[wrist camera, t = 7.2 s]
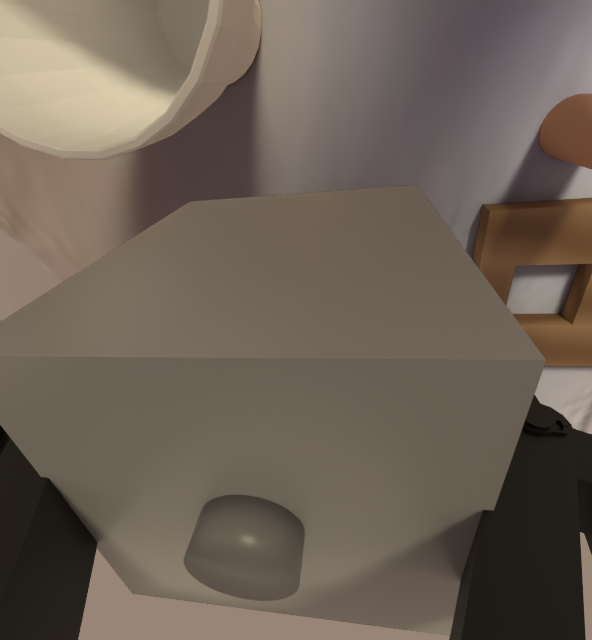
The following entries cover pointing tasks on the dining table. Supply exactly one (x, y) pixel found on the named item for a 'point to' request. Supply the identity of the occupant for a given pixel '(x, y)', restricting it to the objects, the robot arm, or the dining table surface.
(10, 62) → the cup
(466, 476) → the block
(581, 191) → the dining table surface
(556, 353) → the board
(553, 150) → the peg
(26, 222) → the dining table surface
